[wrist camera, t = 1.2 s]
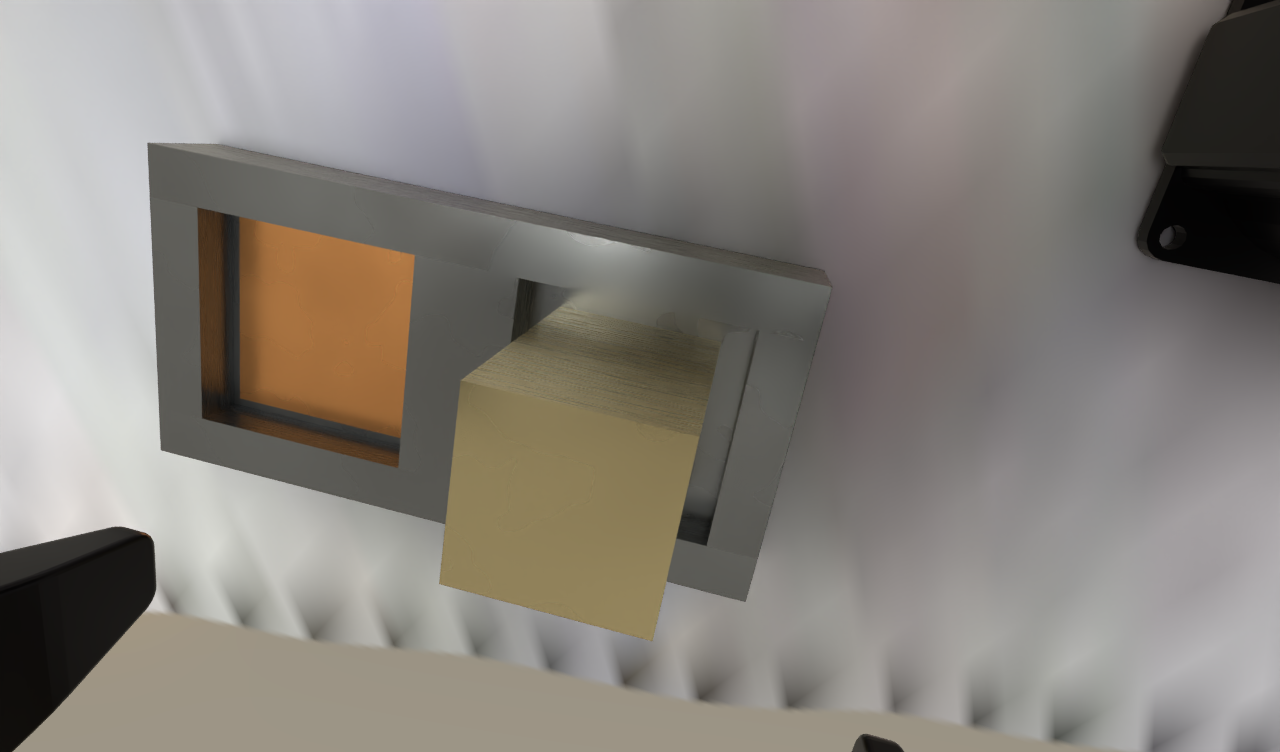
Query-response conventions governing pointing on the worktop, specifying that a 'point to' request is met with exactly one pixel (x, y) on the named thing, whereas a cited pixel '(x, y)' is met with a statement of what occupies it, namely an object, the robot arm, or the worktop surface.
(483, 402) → the light wood beam
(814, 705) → the worktop surface
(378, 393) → the grey slotted board
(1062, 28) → the worktop surface
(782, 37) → the worktop surface
